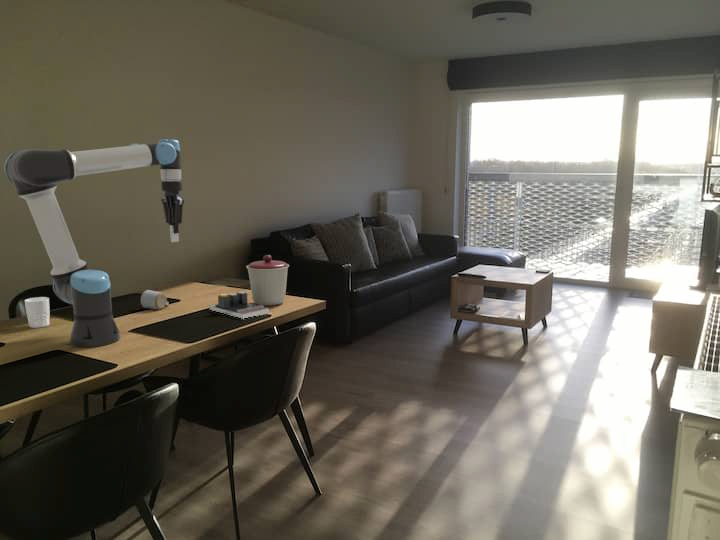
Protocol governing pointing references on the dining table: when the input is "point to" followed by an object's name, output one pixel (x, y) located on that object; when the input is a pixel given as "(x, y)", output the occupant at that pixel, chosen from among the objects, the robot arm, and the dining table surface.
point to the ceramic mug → (153, 300)
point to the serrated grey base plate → (240, 307)
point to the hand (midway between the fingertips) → (174, 241)
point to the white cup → (38, 312)
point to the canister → (268, 281)
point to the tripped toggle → (223, 300)
